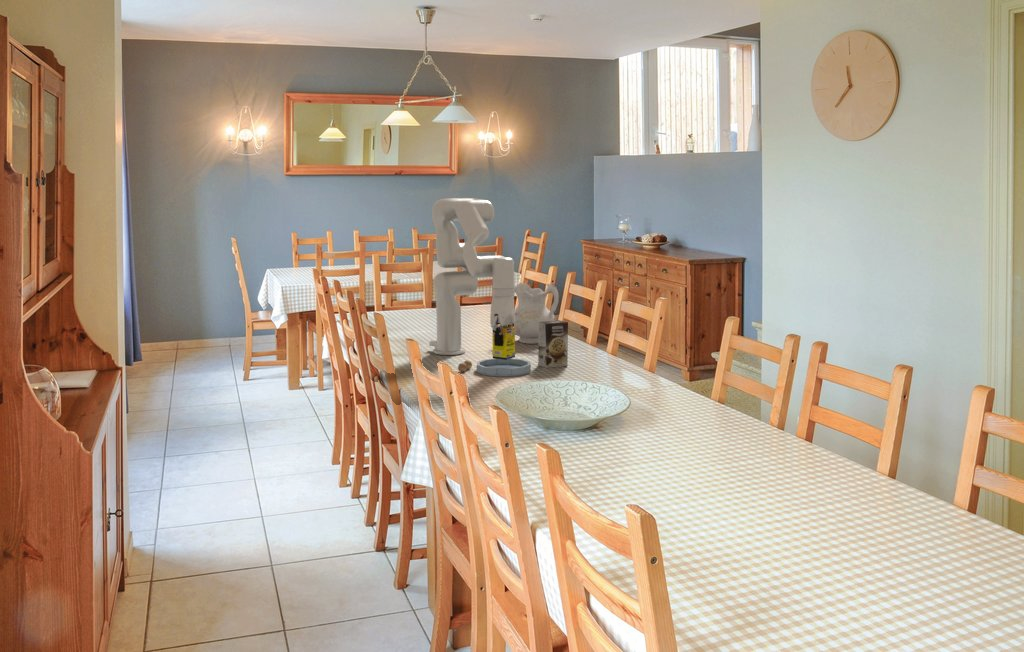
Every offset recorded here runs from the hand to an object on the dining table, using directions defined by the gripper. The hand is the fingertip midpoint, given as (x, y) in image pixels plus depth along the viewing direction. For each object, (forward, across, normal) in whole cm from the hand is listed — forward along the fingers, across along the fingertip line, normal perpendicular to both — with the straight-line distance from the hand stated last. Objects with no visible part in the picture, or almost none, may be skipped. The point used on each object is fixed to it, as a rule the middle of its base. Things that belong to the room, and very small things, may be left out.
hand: (503, 343), depth 318 cm
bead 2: (+10, +3, -13) cm, 17 cm away
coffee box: (+10, -17, +11) cm, 23 cm away
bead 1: (+10, +8, -12) cm, 17 cm away
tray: (+10, 0, 0) cm, 10 cm away
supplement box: (+5, 0, 0) cm, 5 cm away
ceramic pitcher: (+10, -59, -18) cm, 62 cm away
